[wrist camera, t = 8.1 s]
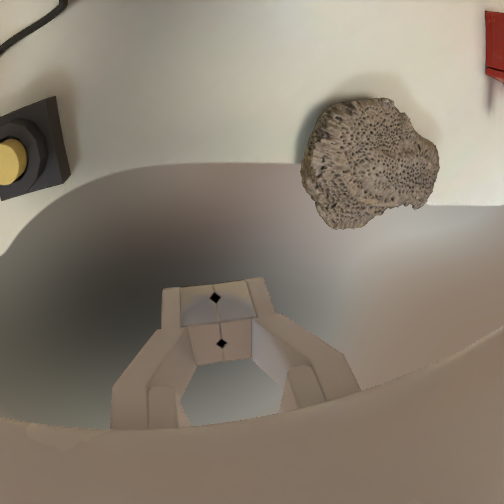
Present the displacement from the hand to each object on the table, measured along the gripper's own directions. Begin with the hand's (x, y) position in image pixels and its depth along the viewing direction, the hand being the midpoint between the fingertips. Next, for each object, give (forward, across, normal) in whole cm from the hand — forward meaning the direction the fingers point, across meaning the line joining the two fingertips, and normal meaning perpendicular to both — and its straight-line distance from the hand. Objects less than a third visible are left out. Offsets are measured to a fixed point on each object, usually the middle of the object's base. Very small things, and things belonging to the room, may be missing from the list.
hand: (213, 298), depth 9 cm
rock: (+15, -18, +3) cm, 23 cm away
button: (+16, +16, -2) cm, 23 cm away
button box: (+20, +16, -2) cm, 26 cm away
